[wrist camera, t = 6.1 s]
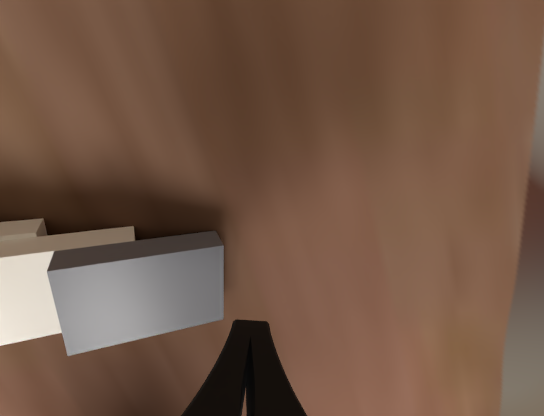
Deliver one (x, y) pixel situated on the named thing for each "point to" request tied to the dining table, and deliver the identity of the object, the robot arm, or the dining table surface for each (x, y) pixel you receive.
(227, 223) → the dining table surface
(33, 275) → the domino
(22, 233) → the domino
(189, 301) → the domino
